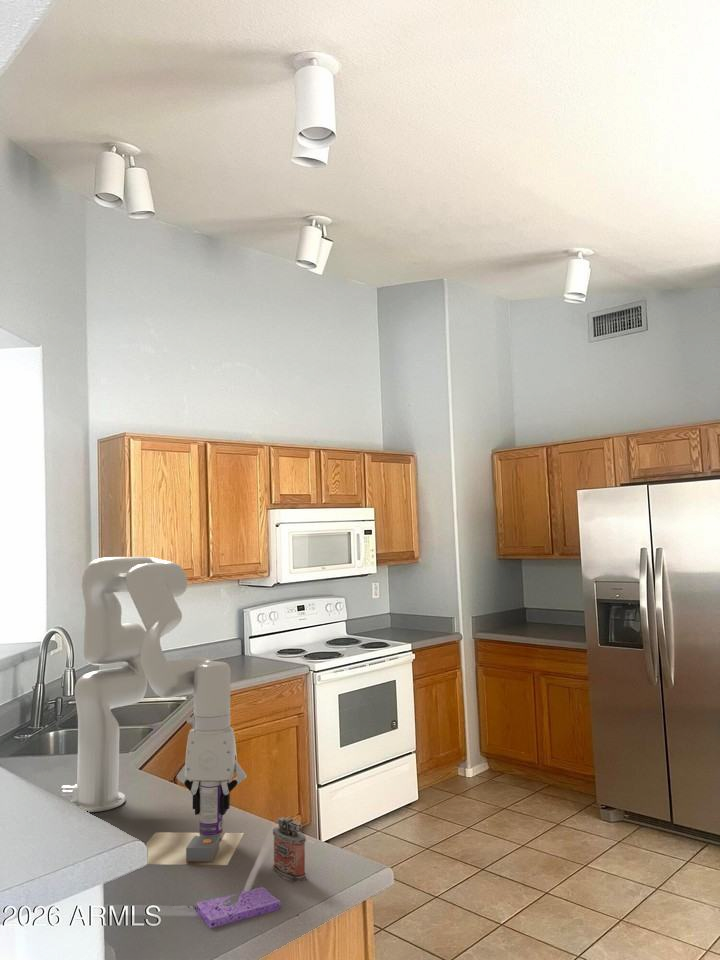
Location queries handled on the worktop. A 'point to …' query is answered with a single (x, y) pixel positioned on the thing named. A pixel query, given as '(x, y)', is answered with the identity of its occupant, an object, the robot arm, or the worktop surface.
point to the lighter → (289, 850)
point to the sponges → (237, 907)
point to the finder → (202, 849)
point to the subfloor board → (173, 847)
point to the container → (210, 808)
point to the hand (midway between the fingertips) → (211, 811)
